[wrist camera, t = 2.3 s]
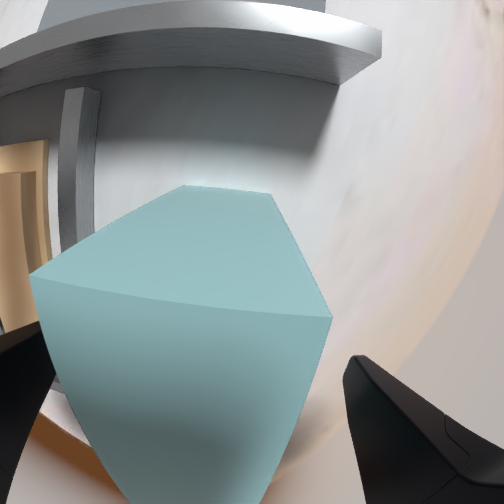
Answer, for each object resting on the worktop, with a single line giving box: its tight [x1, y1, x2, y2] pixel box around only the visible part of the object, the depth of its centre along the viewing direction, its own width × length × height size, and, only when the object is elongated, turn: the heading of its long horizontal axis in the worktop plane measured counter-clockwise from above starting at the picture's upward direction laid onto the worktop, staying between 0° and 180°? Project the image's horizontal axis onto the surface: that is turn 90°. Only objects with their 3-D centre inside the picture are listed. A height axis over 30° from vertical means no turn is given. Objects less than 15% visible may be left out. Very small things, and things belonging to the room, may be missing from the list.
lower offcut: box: [0, 140, 53, 266], centre depth 12 cm, size 4×12×1 cm, turn 173°
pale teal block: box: [29, 185, 333, 504], centre depth 8 cm, size 4×8×9 cm, turn 173°
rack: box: [0, 0, 382, 394], centre depth 10 cm, size 19×19×4 cm
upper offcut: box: [0, 171, 42, 333], centre depth 11 cm, size 4×10×1 cm, turn 173°
